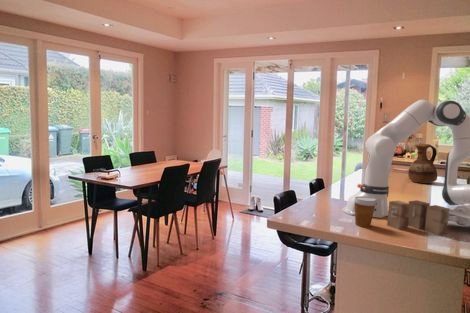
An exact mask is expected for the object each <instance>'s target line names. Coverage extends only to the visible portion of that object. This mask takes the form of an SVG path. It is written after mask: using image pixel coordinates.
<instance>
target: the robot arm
mask: <svg viewBox="0 0 470 313" xmlns="http://www.w3.org/2000/svg"><path fill="white" fill-rule="evenodd" d="M427 122H429V123H431V124H433V125H434V126H436V127H447V126H448V127H449V128H450V129H451V132H452V140H453V141H452V142H453V144H452V147H451V149H450V150H449V152H447V156H446V160H445V169H444V170H445V173H444V182H443V187H442V191H441V195H442V196H441V197H442V199H443V201H444V202H445V203H446V204H447V205H449V206H456V207H454V208H453V209H451V208H449V216H448V222H454V223H456V224H457V225H459V226H467V227H470V183H468V184H467V183H466V184H461V183H460V184H458V183H457V180H458V171H459V170H458V168H459V166H460V165H461V164H462V163H463V162H465V161H466V160H469V159H470V114H467V113H466V111H465V110H464V109H463V107H462V106H461V104H460V103H459V102H457V101H455V100H445V101H442V102H440V103H438V104H433V103H431V102H430V101H428V100H426V99H419V100H417V101H415V102H414V103H412V104H410V105H409V106H407V107H406V108H405V109H404V110H403V111H401V112H400V113H399V114H398V115H396V117H395V118H393V119H392V120H391V121H390V122H388V123H387V124H386V125H384V126H383V127H382V128H380V129H378V130H377V131H375V132H374V133H373V134H372V135H371V136H369V137H368V138H367V139H366V141H365V145H364V147H365V150H366V151H367V153H368V154H369V158H368V159H367V160H368V161H367V165H366V168H365V174H364V183H363V184H361V183H357V185H356V186H357V188H358V189H359V191H358V192H356V193H355V194H353V195H351V196H349V198H348V199H347V203H346V206H341V211H342V212H343V213H345V214H347V215H351V216H355V202H354V199H355V197H357V196H364V197H371V198H374V199H376V205H375V208H374V212H373V217H372V218H381V219H382V218H383V219H384V218H385V217H388V210H389V204H388V197H389V192H390V190H389V189H390V187H389V186H390V185H389V183H390V182H389V179H390V171H391V168H392V167H391V166H392V164H393V161H394V160H393V159H394V157H395V156H394V155H395V154H396V151H397V145H398V144H400V143H401V142H404V141H405V140H407V139H408V138H410V136H412V135H413V134H414V133H415V132H416V131H418V130H419V129H420V128H421V127H423V126H424V124H426V123H427Z"/></svg>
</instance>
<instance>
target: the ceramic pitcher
mask: <svg viewBox="0 0 470 313" xmlns="http://www.w3.org/2000/svg"><path fill="white" fill-rule="evenodd" d="M414 147H416V149H417V151H416V152H417V157H416V159H414V160H413V162H412V163H411V164H410V165H409V168H408V172H407V173H408V174H407V177H408V179H409V181H411V182H414V183H418V182H419V183H421V184H426V183H434V182H436V181H438V171H437V168H436V166H435V164H434V163H435V159H436V158H437V151H438V150H437V149H436V148H437V147H436V148H435V147H434V146H433V145H431V144H429V143H426V144H425V143H421V144H414ZM429 148H430V149H431V150H432V153H431V157H430V159H428V156H427V151H428V149H429Z"/></svg>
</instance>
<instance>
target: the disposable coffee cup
mask: <svg viewBox="0 0 470 313" xmlns="http://www.w3.org/2000/svg"><path fill="white" fill-rule="evenodd" d="M354 202H355V215H354V218H355V219H354V220H355V225H356V226H357V227H361V228H370V227H371V225H372V221H373V218H374V217H373V212H374V208H375V205H376V199H374V198H371V197H364V196H357V197H355V199H354Z"/></svg>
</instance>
